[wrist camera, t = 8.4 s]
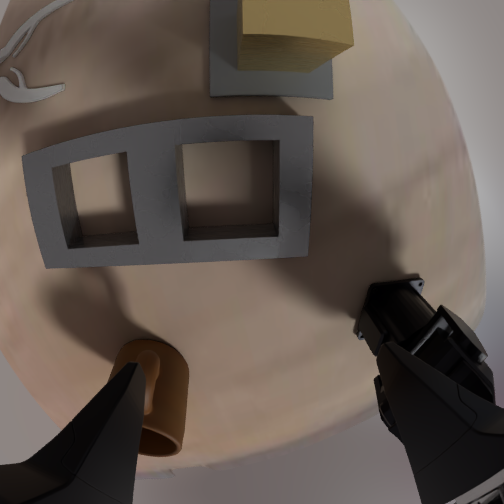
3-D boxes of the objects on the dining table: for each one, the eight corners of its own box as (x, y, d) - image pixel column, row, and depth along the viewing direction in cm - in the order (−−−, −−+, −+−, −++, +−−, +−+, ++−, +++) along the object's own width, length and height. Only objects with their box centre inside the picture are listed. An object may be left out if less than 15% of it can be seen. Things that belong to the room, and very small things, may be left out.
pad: (324, 5, 12) (326, 2, 12) (330, 99, 16) (333, 98, 15) (210, -1, 12) (210, -5, 11) (210, 97, 15) (210, 96, 15)
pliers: (55, 91, 12) (-42, 135, 11) (66, 93, 14) (-32, 133, 12) (77, -14, 8) (-30, 48, 7) (85, -8, 10) (-21, 49, 8)
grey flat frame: (302, 118, 16) (313, 116, 14) (299, 241, 20) (307, 256, 18) (40, 151, 15) (21, 156, 13) (60, 254, 19) (46, 268, 17)
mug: (122, 289, 21) (79, 373, 12) (207, 313, 22) (201, 407, 14) (119, 373, 25) (99, 443, 17) (184, 390, 27) (177, 463, 18)
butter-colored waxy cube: (305, 16, 12) (343, -30, 6) (308, 73, 14) (354, 45, 8) (236, 12, 12) (241, -42, 6) (237, 70, 14) (242, 33, 8)
